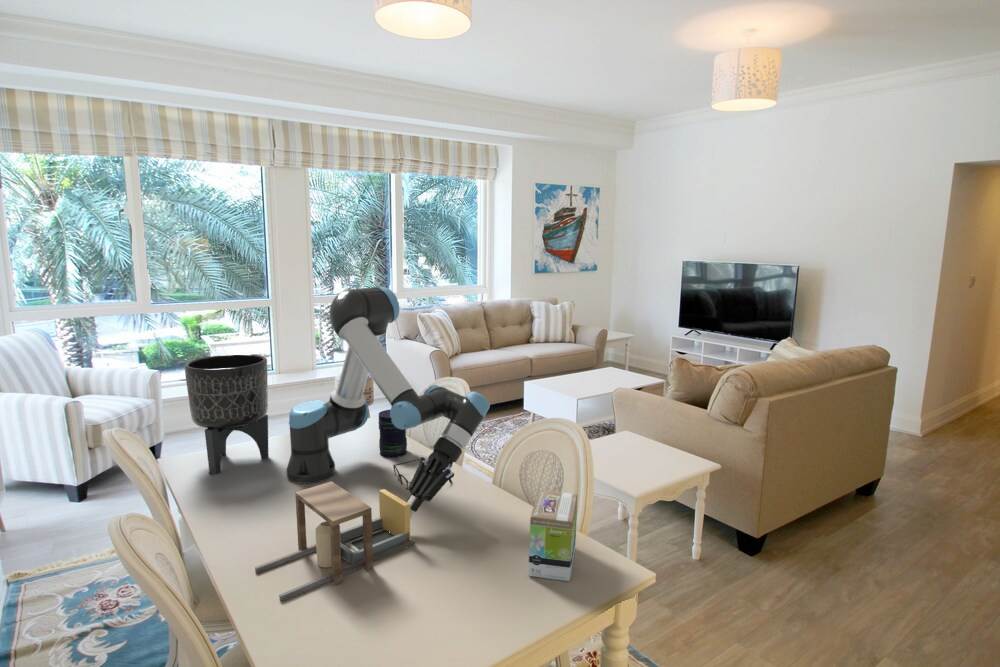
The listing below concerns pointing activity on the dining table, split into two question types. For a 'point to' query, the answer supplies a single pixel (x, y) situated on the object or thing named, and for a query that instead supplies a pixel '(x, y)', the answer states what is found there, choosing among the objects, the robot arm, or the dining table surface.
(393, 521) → the yellow panel grey frame
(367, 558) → the wooden stand with rails
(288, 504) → the dining table surface
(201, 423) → the planter
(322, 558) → the candle
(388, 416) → the dark blue cylinder
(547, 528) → the tea box
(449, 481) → the eyeglasses
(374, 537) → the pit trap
